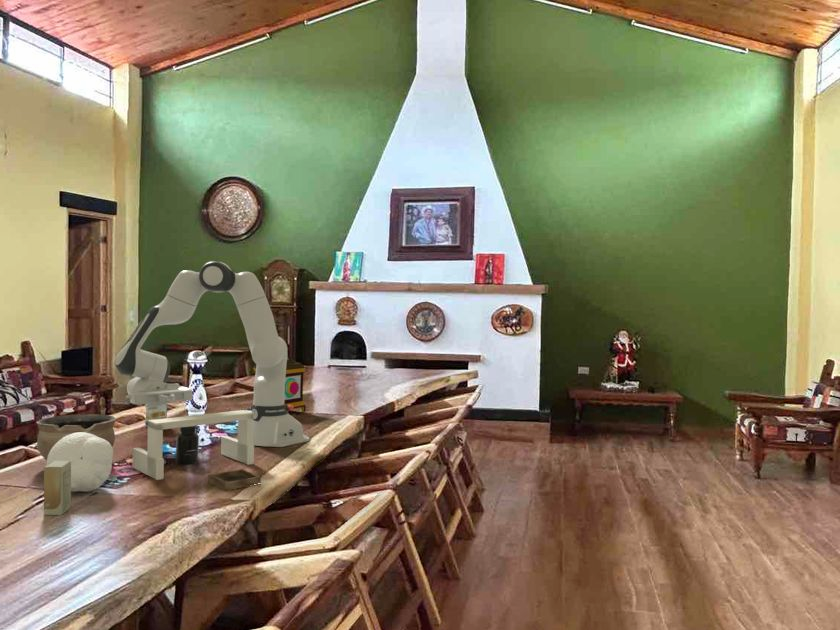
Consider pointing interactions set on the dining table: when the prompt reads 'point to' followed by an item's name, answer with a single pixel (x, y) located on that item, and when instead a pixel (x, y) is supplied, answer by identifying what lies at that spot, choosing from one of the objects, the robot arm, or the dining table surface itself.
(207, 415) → the arch lane
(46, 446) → the ceramic bowl
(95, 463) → the decorative orb
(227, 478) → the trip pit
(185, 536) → the dining table surface
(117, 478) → the dining table surface
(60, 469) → the skincare box
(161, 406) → the beverage bottle
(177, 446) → the supplement bottle
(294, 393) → the decorative lantern
